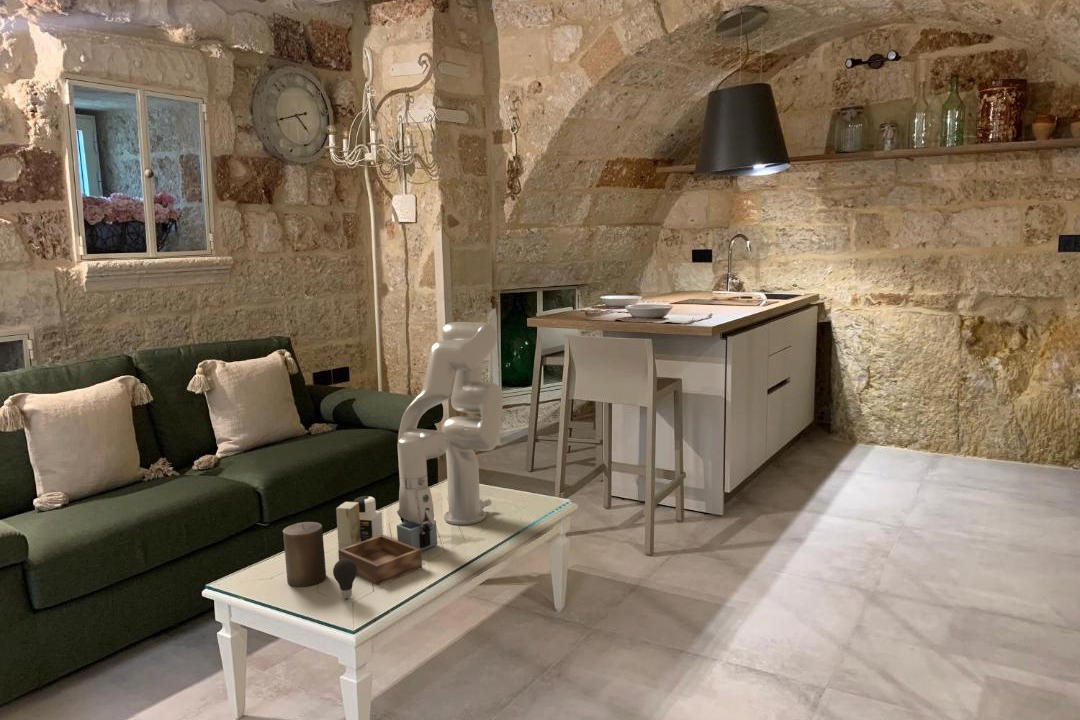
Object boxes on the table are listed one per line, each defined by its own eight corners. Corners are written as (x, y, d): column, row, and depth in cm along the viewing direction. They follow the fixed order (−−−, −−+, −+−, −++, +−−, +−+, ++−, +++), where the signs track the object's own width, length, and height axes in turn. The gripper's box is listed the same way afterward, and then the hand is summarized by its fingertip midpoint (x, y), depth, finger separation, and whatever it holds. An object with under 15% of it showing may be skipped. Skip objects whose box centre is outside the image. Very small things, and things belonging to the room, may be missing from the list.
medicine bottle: (349, 541, 237) (347, 501, 235) (360, 532, 244) (358, 493, 242) (372, 543, 236) (370, 502, 234) (383, 534, 242) (381, 494, 241)
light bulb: (335, 605, 197) (332, 565, 195) (334, 595, 202) (331, 556, 200) (359, 601, 198) (357, 562, 197) (357, 592, 204) (355, 553, 202)
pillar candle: (330, 581, 210) (326, 524, 208) (291, 590, 206) (287, 532, 204) (320, 569, 219) (316, 514, 217) (282, 577, 214) (278, 521, 212)
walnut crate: (382, 552, 229) (381, 534, 228) (422, 567, 217) (421, 549, 217) (339, 567, 219) (338, 549, 218) (378, 585, 207) (376, 566, 207)
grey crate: (423, 539, 236) (422, 516, 235) (437, 544, 232) (436, 520, 231) (398, 549, 230) (396, 525, 229) (411, 554, 226) (410, 530, 224)
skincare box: (352, 551, 230) (349, 509, 228) (338, 550, 231) (335, 508, 229) (362, 542, 236) (359, 501, 234) (347, 542, 237) (345, 500, 235)
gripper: (444, 483, 225) (448, 546, 228) (405, 472, 236) (409, 532, 239) (423, 491, 219) (427, 555, 222) (383, 478, 231) (387, 540, 234)
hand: (417, 542), depth 231 cm, fingers closed on grey crate, 6 cm apart
